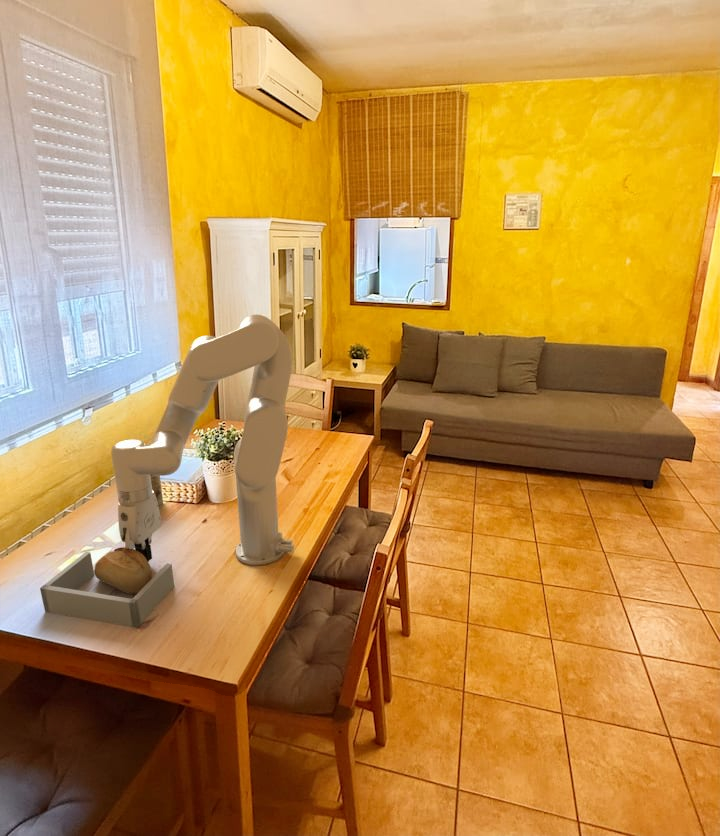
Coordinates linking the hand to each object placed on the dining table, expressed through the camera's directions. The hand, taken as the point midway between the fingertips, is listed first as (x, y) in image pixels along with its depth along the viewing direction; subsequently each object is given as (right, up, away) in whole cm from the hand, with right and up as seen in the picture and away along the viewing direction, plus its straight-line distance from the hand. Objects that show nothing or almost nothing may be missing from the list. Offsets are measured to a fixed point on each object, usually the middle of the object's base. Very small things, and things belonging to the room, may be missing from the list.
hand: (144, 559), depth 132 cm
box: (-3, -5, -11) cm, 13 cm away
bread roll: (-2, -4, -6) cm, 7 cm away
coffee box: (-11, +8, +28) cm, 31 cm away
